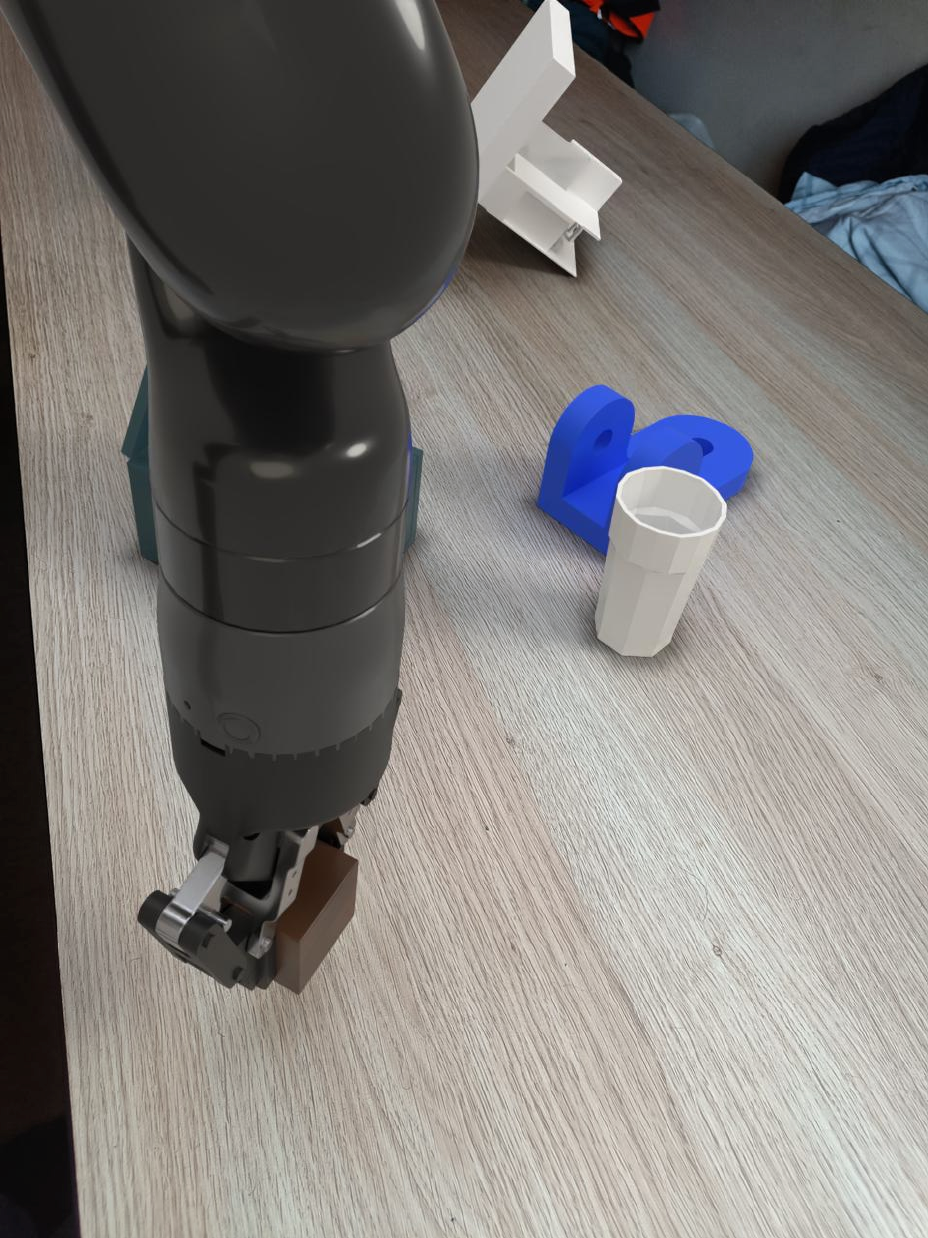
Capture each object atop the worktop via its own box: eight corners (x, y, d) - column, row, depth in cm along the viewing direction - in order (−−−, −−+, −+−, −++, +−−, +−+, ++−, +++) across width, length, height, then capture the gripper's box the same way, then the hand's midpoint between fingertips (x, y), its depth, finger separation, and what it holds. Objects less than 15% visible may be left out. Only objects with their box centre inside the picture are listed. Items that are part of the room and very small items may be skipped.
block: (298, 996, 44) (299, 943, 41) (212, 945, 45) (206, 890, 42) (354, 914, 47) (359, 859, 44) (271, 869, 48) (270, 812, 45)
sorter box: (415, 540, 75) (424, 450, 70) (327, 641, 67) (329, 549, 62) (242, 467, 79) (237, 376, 73) (140, 555, 71) (126, 461, 66)
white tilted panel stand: (405, 177, 114) (548, -25, 100) (523, 264, 121) (673, 86, 107) (385, 282, 98) (553, 57, 84) (523, 376, 104) (700, 183, 90)
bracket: (620, 566, 75) (649, 464, 69) (536, 505, 79) (556, 403, 73) (766, 474, 85) (803, 377, 79) (685, 424, 89) (714, 327, 82)
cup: (598, 583, 74) (632, 454, 66) (690, 614, 73) (736, 486, 65) (570, 645, 69) (603, 514, 62) (668, 679, 68) (714, 550, 60)
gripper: (308, 499, 40) (303, 776, 52) (29, 754, 30) (101, 1023, 42) (486, 577, 38) (438, 846, 50) (248, 875, 28) (259, 1121, 40)
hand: (284, 926), depth 46 cm, fingers closed on block, 4 cm apart
